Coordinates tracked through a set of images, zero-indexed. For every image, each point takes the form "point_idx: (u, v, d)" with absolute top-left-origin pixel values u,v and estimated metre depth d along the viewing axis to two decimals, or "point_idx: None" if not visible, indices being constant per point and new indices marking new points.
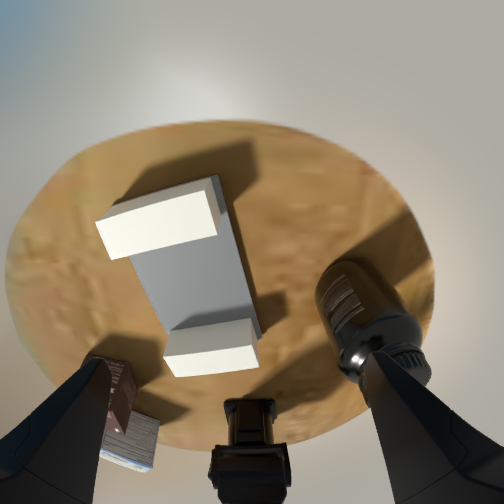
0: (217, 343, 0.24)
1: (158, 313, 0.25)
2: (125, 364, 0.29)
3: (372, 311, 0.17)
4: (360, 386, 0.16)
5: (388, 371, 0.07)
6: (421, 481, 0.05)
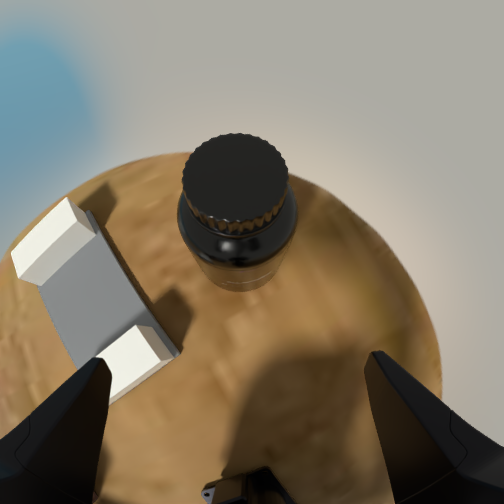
0: None
1: (72, 357, 0.20)
2: None
3: None
4: (195, 218, 0.13)
5: (388, 371, 0.07)
6: (421, 481, 0.05)
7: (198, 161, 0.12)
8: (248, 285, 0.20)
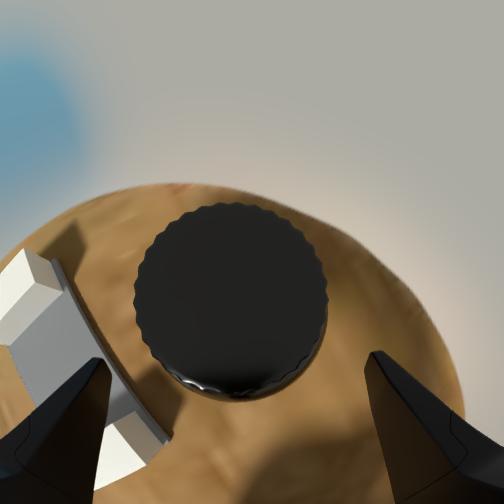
0: None
1: None
2: None
3: None
4: None
5: (388, 371, 0.07)
6: (421, 481, 0.05)
7: (159, 265, 0.07)
8: None
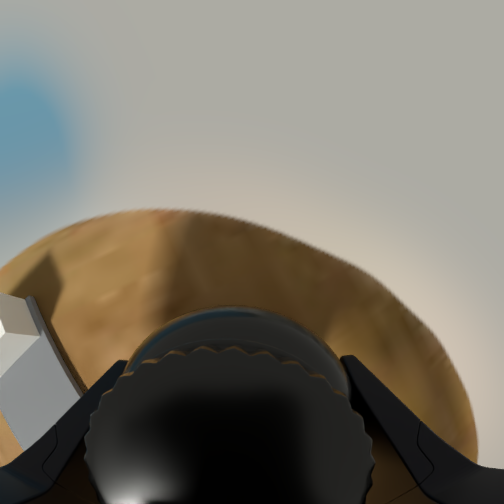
0: None
1: None
2: None
3: None
4: None
5: (356, 377, 0.07)
6: (388, 493, 0.05)
7: (113, 444, 0.03)
8: None
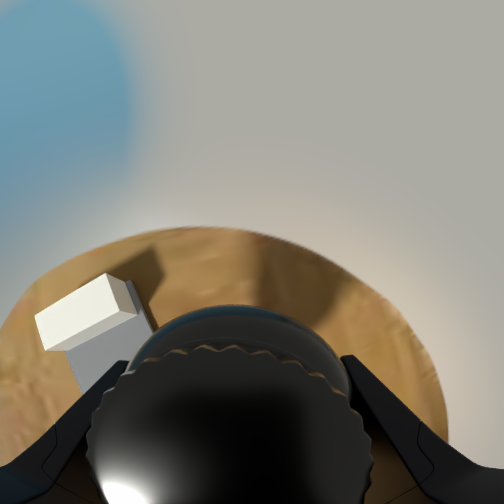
0: None
1: None
2: None
3: None
4: None
5: (356, 377, 0.07)
6: (389, 493, 0.05)
7: (114, 442, 0.03)
8: None
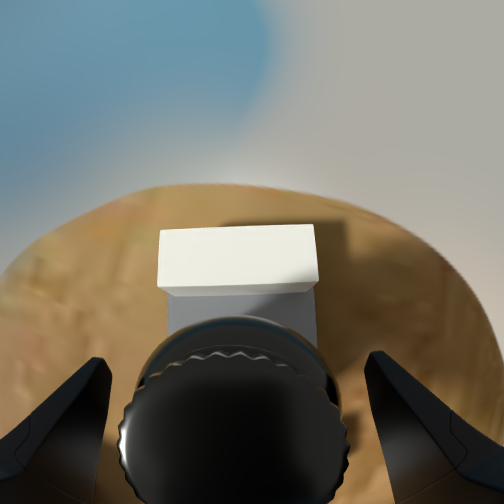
0: None
1: None
2: None
3: None
4: None
5: (388, 371, 0.07)
6: (421, 481, 0.05)
7: (143, 430, 0.04)
8: None
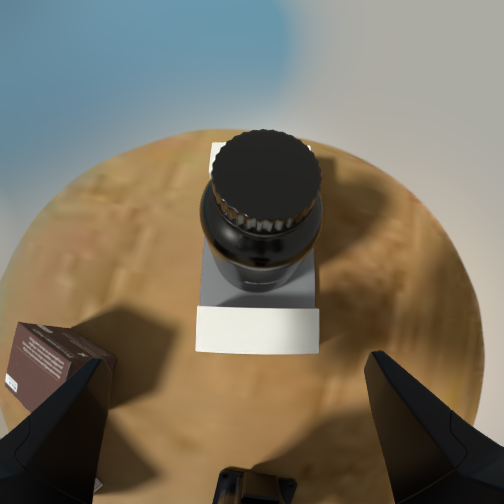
0: None
1: (203, 282, 0.22)
2: (112, 356, 0.21)
3: None
4: (222, 213, 0.13)
5: (388, 371, 0.07)
6: (421, 481, 0.05)
7: (229, 154, 0.12)
8: (265, 287, 0.19)
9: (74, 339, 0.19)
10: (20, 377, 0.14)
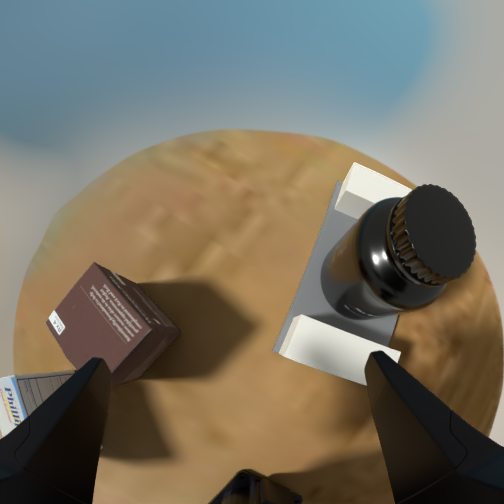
0: None
1: (301, 289, 0.22)
2: None
3: None
4: (393, 249, 0.12)
5: (388, 371, 0.07)
6: (421, 481, 0.05)
7: (419, 200, 0.11)
8: (365, 317, 0.18)
9: (144, 299, 0.20)
10: (72, 322, 0.15)
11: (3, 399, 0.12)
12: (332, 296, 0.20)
